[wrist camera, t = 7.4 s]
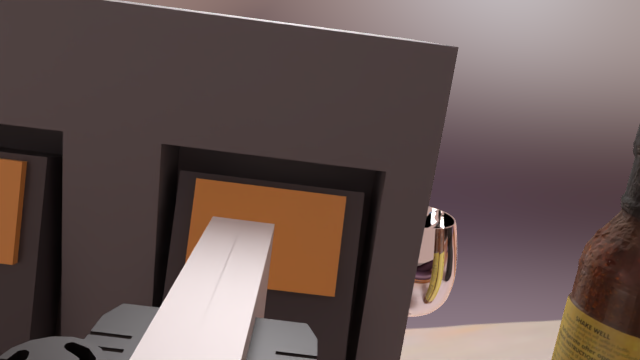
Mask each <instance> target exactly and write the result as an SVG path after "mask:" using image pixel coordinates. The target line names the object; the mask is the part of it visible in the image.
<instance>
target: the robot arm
mask: <svg viewBox="0 0 640 360" xmlns="http://www.w3.org/2000/svg"><path fill="white" fill-rule="evenodd" d="M274 226H275V224H270V223H262V222H254V221H246V220H238V219H231V218H223V217H215V216H213V217H212V219H211V221H210V222H209V224H208V226H207V227H206V229H205V231H204V233H203V234H202V236H201V238H200V239H199V241H198V243H197V245H196V246H195V248H194V250H193V251H192V253H191V255H190V257H189V258H188V260H187V262H186V263H185V265H184V267H183V269H182V270H181V272H180V274H179V275H178V277H177V279H176V281H175V282H174V284H173V286H172V288H171V289H170V291H169V293H168V294H167V296H166V298H165V300H164V301H163V303H162V305H161V306H160V308H158V307H150V306H142V305H134V304H125V303H123V304H122V305H120V306H118V307H116V308H115V309H113V310H111V311H109V312H108V313H106V314H104V315H102V317H101V318H100V319H99V321H98V322H97V323H96V325H95V326H94V327H93V328H92V330H91V332H90V334H88V335H87V336H86V338H85V339H80V338H76V337H58V336H52V337H46V338H40V339H35V340H30V341H28V342H25V343H22V344H20V345H17V346H15V347H12V348H11V349H9V350H8V351H6V352H5V353H4V354H2V355H1V356H0V360H317V338H316V336H315V335H314V333H313V332H312V330H311V329H310V327H309V326H308V324H307V323H298V322H290V321H282V320H274V319H265V318H264V312H265V304H266V295H267V286H268V278H269V269H270V261H271V252H272V244H273V235H274Z"/></svg>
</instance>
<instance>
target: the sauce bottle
mask: <svg viewBox="0 0 640 360" xmlns="http://www.w3.org/2000/svg"><path fill="white" fill-rule="evenodd" d="M633 153H634V156H635V160H634V163H633V168H632V171H631V174H630V177H629V181H628V184H627V189H626V192H625V194H624V195H623V196H622V198H621V207H622V209H621V211H620V212H619V214H618V215H616V216H615V217H614V218H613V219H612V220H611V221H609V223H607V224H606V225H605V226H604V227H603V228H601V229H599V230H598V231H597V232H596V234H595V235H594V236H593V237H592V238H591V240H590V241H588V242H587V244H586V245H585V247H584V250H583V252H582V255H581V258H580V259H579V266H578V271H577V275H576V278H575V282H574V285H573V290H572V292H571V293H570V294H569V296H568V299H567V303H566V306H565V310H564V314H563V317H562V321H561V325H560V329H559V333H558V337H557V340H556V344H555V348H554V352H553V356H552V359H551V360H640V125H639V129H638V132H637V134H636V139H635V141H634V149H633Z"/></svg>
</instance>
